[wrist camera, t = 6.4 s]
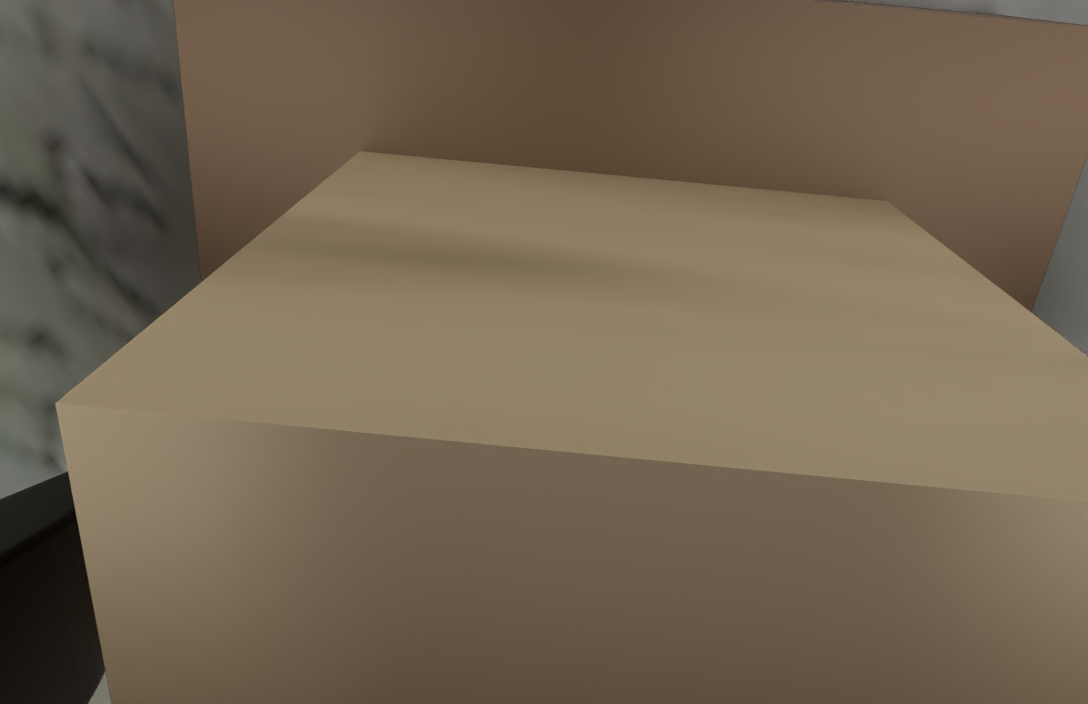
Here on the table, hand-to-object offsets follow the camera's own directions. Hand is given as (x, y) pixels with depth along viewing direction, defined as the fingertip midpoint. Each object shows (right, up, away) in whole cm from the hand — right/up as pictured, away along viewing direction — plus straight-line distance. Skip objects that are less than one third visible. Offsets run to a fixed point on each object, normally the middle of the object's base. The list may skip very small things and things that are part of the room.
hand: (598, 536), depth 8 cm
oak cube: (0, +1, +2) cm, 3 cm away
